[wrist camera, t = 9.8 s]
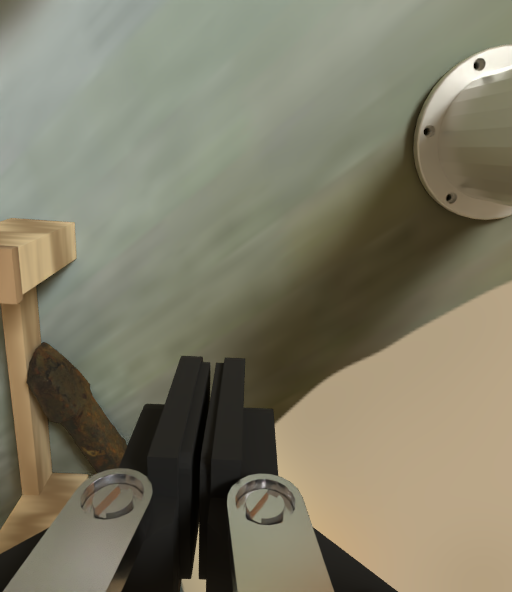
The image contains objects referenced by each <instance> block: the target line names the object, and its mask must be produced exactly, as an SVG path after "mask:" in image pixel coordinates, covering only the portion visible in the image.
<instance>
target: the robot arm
mask: <svg viewBox="0 0 512 592" xmlns="http://www.w3.org/2000/svg"><path fill="white" fill-rule="evenodd" d="M474 63H475V64H476V69H474ZM425 128H426V129H427V130H428V133H427V134H426V135H424V129H425ZM413 152H414V159H415V166H416V169H417V172H418V175H419V178H420V181H421V182H422V184H423V186H424V187H425V189H426V191H427V192H428V194H429V195H430V196H431V197H432V198H433V199H434V200H435V201H436V202H437V203H438V204H440V205H441V206H442V207H444V208H445V209H447V210H448V211H451V212H453V213H456V214H458V215H461V216H464V217H468V218H472V219H482V220H490V219H499V218H504V217H507V216H510V215H512V45H501V46H497V47H493V48H488V49H486V50H483V51H481V52H478V53H475V54H473V55H472V56H470V57H468V58H466V59H464V60H463V61H461V62H459V63H458V64H457V65H455V66H454V67H453V68H452V69H451V70H449V71H448V72H447V73H446V74H445V75H444V76H443V77H442V78H441V79H440V80H439V82H438V83H437V84H436V85H435V86H434V87H433V89H432V91H431V92H430V94H429V96H428V97H427V99H426V101H425V102H424V104H423V107H422V109H421V112H420V114H419V117H418V120H417V124H416V129H415V133H414V149H413ZM448 194H449V199H447V200H446V196H447V195H448ZM244 377H245V359H241V358H225V360H224V363H216V368H215V374H214V380H213V386H212V392H211V398H210V363H208V362H203V357H195V356H181V358H180V361H179V364H178V367H177V370H176V373H175V376H174V379H173V382H172V385H171V388H170V391H169V394H168V397H167V400H166V403H165V405H164V404H145V406H144V407H143V410H142V412H141V414H140V417H139V419H138V422H137V424H136V426H135V429H134V431H133V434H132V436H131V439H130V441H129V443H128V446H127V448H126V451H125V453H124V455H123V458H122V460H121V463H120V465H119V467H118V468H117V469H111V470H106V471H103V472H100V473H98V474H95V475H93V476H92V477H90V478H89V479H87V480H86V481H84V482H83V483H82V484H81V485H80V486H79V487H78V488H77V489H76V491H75V492H74V494H73V495H72V496H71V498H70V499H69V500H68V502H67V503H66V505H65V506H64V507H63V509H62V510H61V512H60V513H59V514H58V516H57V517H56V519H55V520H54V521H53V523H52V524H51V525H50V527H49V528H47V529H45V530H43V531H41V532H40V533H38V534H36V535H34V536H32V537H30V538H29V539H27V540H25V541H23V542H21V543H19V544H18V545H16V546H14V547H12V548H10V549H8V550H6V551H5V552H3V553H1V554H0V592H180V586H181V580H182V579H191V575H192V570H193V562H194V555H195V548H196V541H197V534H198V527H199V579H206V592H398V591H396V590H395V589H394V588H392V587H391V586H390V585H388V584H387V583H386V582H384V581H383V580H382V579H380V578H379V577H378V576H376V575H375V574H374V573H373V572H371V571H370V570H369V569H367V568H366V567H365V566H363V565H362V564H361V563H359V562H358V561H357V560H355V559H354V558H353V557H351V556H350V555H349V554H348V553H346V552H345V551H344V550H342V549H341V548H339V547H338V546H337V545H336V544H334V543H333V542H332V541H330V540H329V539H327V538H326V537H325V536H324V535H323V534H321V533H320V532H319V531H317V530H316V529H315V528H313V527H312V524H311V521H310V518H309V515H308V512H307V509H306V506H305V503H304V501H303V497H302V495H301V494H300V492H299V490H298V489H297V488H296V487H295V486H294V485H293V484H292V483H291V482H290V481H287V480H285V479H284V478H282V477H279V476H278V467H277V453H276V440H275V428H274V427H275V426H274V413H273V409H263V408H243V404H244Z"/></svg>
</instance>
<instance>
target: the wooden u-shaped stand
mask: <svg viewBox="0 0 512 592" xmlns="http://www.w3.org/2000/svg"><path fill="white" fill-rule="evenodd" d="M75 259H76V240H75V223H74V222H60V221H45V220H31V219H16V218H11V219H7V220H4V221H1V222H0V303H1V311H2V319H3V328H4V337H5V346H6V355H7V363H8V372H9V381H10V390H11V399H12V407H13V416H14V425H15V434H16V442H17V451H18V460H19V469H20V478H21V486H22V496H21V498H20V499H19V501H18V503H17V504H16V506H15V507H14V509H13V511H12V512H11V514H10V515H9V517H8V518H7V520H6V522H5V523H4V525H3V526H2V528H1V530H0V554H1V553H3V552H5V551H6V550H8V549H10V548H12V547H14V546H16V545H18V544H19V543H21V542H23V541H25V540H27V539H29V538H30V537H32V536H34V535H36V534H38V533H40V532H41V531H43V530H45V529H47V528H49V527H50V525H51V524H52V523H53V521H54V520H55V519H56V517H57V516H58V514H59V513H60V512H61V510H62V509H63V507H64V506H65V505H66V503H67V502H68V500H69V499H70V498H71V496H72V495H73V494H74V492H75V491H76V489H77V488H78V487H79V486H80V485H81V484H82V483H83V482H84V481H86V480H87V479H89V478H88V474H70V473H52V464H51V452H50V441H49V429H48V417H47V416H46V415H45V414H44V412H43V410H42V408H41V406H40V404H39V402H38V400H37V399H36V397H35V396H34V394H33V393H32V391H31V389H30V387H29V385H28V384H27V383H26V381H27V374H28V370H29V362H30V360H31V358H32V356H33V353H34V352H35V349H36V348H37V347H38V346H39V345H41V336H40V324H39V312H38V301H37V289H36V285H38V284H39V283H41V282H42V281H44V280H45V279H47V278H48V277H50V276H51V275H53V274H54V273H56V272H57V271H59V270H60V269H62V268H63V267H64V266H66V265H67V264H69V263H70V262H72V261H73V260H75Z"/></svg>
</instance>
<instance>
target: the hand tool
mask: <svg viewBox="0 0 512 592" xmlns="http://www.w3.org/2000/svg"><path fill="white" fill-rule="evenodd" d="M26 383H27V384H28V385H29V387H30V389H31V391H32V393H33V394H34V396H35V397H36V399H37V400H38V402H39V404H40V406H41V408H42V410H43V412H44V414H45V415H46V416H47V417H48V419H49V420H51V421H52V422H56V423H61V424H62V426H64V427H65V429H66V430H67V431H68V432H69V434H70V435H71V436H72V437H73V439H74V441H75V443H76V444H77V446H78V447H79V448H80V450H81V451H82V452H83V454H84V455H85V456H86V458H87V459H88V461H89V462H90V464H91V465H92V466H93V468H94V469H95V471H96V472H97V473H100V472H103V471H106V470H111V469H117V468H118V467H119V465H120V463H121V460H122V458H123V455H124V453H125V451H126V448H127V445H126V441H125V439H124V438H122V437H121V436H120V435H119V433H118V432H117V430H116V429H115V427H114V426H113V425H112V424H111V422H110V421H109V419H108V418H107V417H106V415H105V414H104V412H103V411H102V409H101V408H100V406H99V405H98V403H97V402H96V401H95V399H94V398H93V396H92V393H91V391H90V384H89V383H88V381H87V380H86V379H85V378H84V376H83V375H82V374H81V373H80V372H79V371H78V370H77V369H76V368H75V367H74V366H73V365H72V364H71V363H70V362H69V361H68V360H67V359H66V358H65V357H64V356H62V355H61V354H60V353H59V352H58V351H56V350H55V349H54V348H52V347H51V346H50V345H49V344H47V343H45V342H43V343H42V344H41V345H39V346H38V347H37V348H36V349H35V352H34V353H33V356H32V358H31V360H30V362H29V370H28V374H27V381H26Z"/></svg>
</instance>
